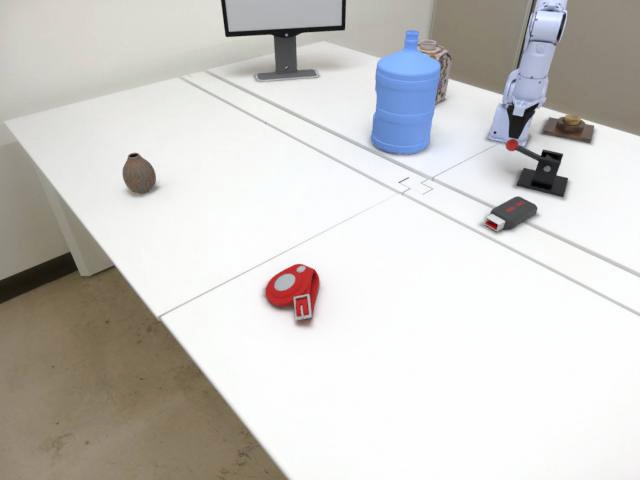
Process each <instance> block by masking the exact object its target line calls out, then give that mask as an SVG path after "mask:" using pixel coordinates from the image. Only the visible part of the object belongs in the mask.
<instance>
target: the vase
mask: <svg viewBox="0 0 640 480" xmlns="http://www.w3.org/2000/svg"><path fill="white" fill-rule="evenodd" d="M122 179H123V183H124V184H125V186H126V187H127V188H128V189H129V190H130V191H132V192H133V193H135V194H139V195H140V194H146V193H149V192H151V191H152V190H153V188H154V187H155V185H156V182H157V175H156V170H155V169H154V167H153V165H152V163H151V162H150V161H148V160H147V159H145V157H143V156H141V154H140V153H139V152H131V153H129V154H128V155H127V158H126V161H125V163H124V164H123V166H122Z"/></svg>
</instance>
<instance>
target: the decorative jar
mask: <svg viewBox="0 0 640 480" xmlns="http://www.w3.org/2000/svg"><path fill="white" fill-rule="evenodd" d="M417 49H418V51H420V52H422V53H423V54H425V55H427V56H429V57H431V58H433V59H435V60H436V61H438V62H439V64H440V66H441V69H440V79H439V84H438V88H437V94H436V100H435V105H437V104H439V103H440V102H442V101H444V100H445V99H446V96H447V91H448V85H449V79H450V74H451V67H452V61H453V57H452V55H451V54H450V51H449V50H448V49H447V48H446V47H444V46H442V45H439V44H437V41H436V40H433V39H422V40H420V43H418V44H417Z"/></svg>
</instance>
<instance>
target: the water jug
mask: <svg viewBox="0 0 640 480" xmlns="http://www.w3.org/2000/svg"><path fill="white" fill-rule="evenodd" d="M404 33H405V37H404V45H403V49H401V50H399V51H396V52H393V53H390V54H387V55H386V56H383V57H381V58H380V59H379V60H377V63H376V68H375V77H374V79H375V84H374V85H375V86H374V91H375V94H376V103H375V112H373V113H374V114H373V115H372V124H371V125H372V126H371V132H370V140H371V143H372V144H373V145H374V147H376V148H377V149H379V150H381V151H382V152H386V153H388V154H395V155H412V154H418V153H420V152H423V151H425V149H427V148H428V146H429V144H430V142H431V133H432V132H431V130H432V125H433V118H434V115H435V109H436V104H435V100H436V94H437V88H438V84H439V79H440V69H441V66H440V64H439V62H438V61H436V60H435V59H433V58H431V57H429V56H427V55H425V54H423V53H422V52H420V51H418V49H417V44H419V35H420V31H419V30H410V29H409V30H406V31H405V32H404Z"/></svg>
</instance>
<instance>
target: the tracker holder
mask: <svg viewBox="0 0 640 480" xmlns="http://www.w3.org/2000/svg"><path fill="white" fill-rule="evenodd" d="M319 287H320V276H319V274H318V272H317V271H316V269H315V268H312V267H310V266H307V265H306V264H303V263H296V264H295V263H294V264H293V265H291V266H289V267H286V268H285V269H283V270H281V271H279V272H278V273H276V274H274V275H273V277H271V278H270V280H269V281H268V283H267V284H266V287H265V297H266V299H267V300H268V302H269V303H270V304H272V305H273V306H277V307H285V306H291V305H292V304H293V307H294V317H295V321H301V320H306V319H307V320H308V319H311V318H312V317H313V314H314V309H315V305H316V299H317V296H318V292H319Z"/></svg>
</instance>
